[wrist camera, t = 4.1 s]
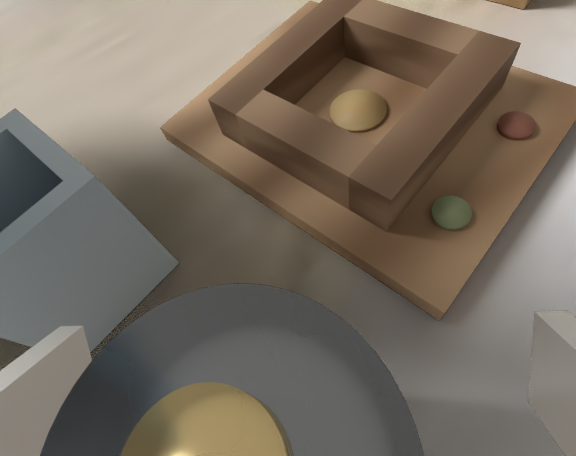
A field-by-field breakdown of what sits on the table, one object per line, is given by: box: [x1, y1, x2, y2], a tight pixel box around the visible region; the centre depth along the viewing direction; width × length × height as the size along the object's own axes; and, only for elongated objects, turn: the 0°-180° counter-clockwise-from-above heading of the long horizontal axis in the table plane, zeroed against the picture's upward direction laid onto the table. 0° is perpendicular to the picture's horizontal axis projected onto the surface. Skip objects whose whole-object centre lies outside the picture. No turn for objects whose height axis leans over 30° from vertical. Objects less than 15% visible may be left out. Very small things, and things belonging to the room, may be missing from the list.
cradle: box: [160, 0, 576, 321], centre depth 20 cm, size 18×14×4 cm
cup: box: [0, 109, 179, 353], centre depth 16 cm, size 6×6×7 cm
